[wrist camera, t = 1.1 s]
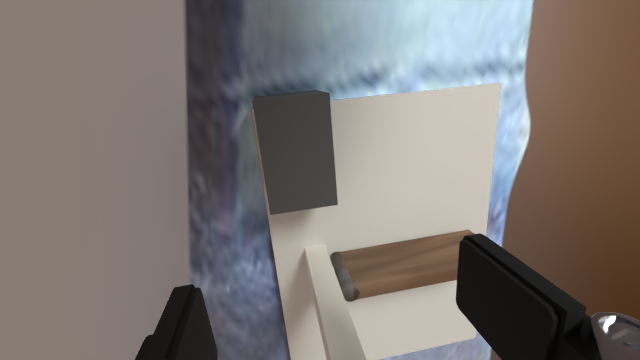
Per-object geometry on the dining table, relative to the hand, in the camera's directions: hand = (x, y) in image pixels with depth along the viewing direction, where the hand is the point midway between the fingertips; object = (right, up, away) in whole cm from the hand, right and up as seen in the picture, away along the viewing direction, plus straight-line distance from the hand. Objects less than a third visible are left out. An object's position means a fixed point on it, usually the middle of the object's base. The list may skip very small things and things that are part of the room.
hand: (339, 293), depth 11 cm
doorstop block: (-3, +7, +15) cm, 17 cm away
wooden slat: (+8, -3, +20) cm, 22 cm away
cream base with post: (+6, -3, +21) cm, 22 cm away
